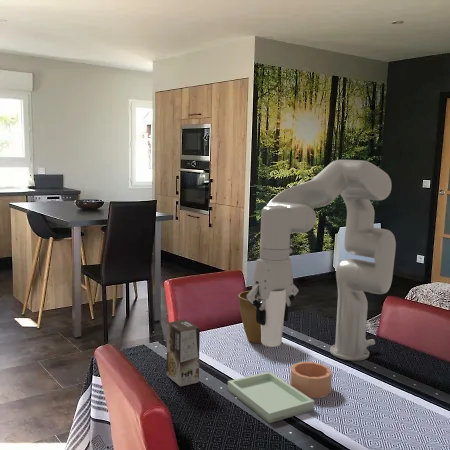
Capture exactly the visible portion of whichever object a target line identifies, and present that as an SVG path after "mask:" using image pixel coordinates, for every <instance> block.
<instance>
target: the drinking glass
mask: <svg viewBox="0 0 450 450" xmlns="http://www.w3.org/2000/svg"><path fill="white" fill-rule="evenodd" d="M261 301H262V299H260V304H261ZM285 306H286V289H285V290H283V291H270V295H269V299H267V300H266V305H265V307H264V310H265V311H266V320H265V325H261V342H262V343H261V344H262V345H263V346H265V347H271V348H273V347H279V346H280V345H282V341H283V327H284V322H285V321H284V314H285Z"/></svg>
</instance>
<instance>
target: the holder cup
mask: <svg viewBox="0 0 450 450" xmlns="http://www.w3.org/2000/svg"><path fill="white" fill-rule="evenodd" d="M289 374H290V376H289V385H291V386H292V387H294V388H295V389H297V390H298V391H300V392H302V393H303V394H305V395H306V396H308V397H309V398H311V399H320V398H325V397H328V396H329V394H330V393H331V392H332V379H333V372H332V370H331V368H330V367H329V366H326V365H325V364H323V363H319V362H314V361H300V362H297V363H295V362H294V363H293V365H292V366H290V373H289Z"/></svg>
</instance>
